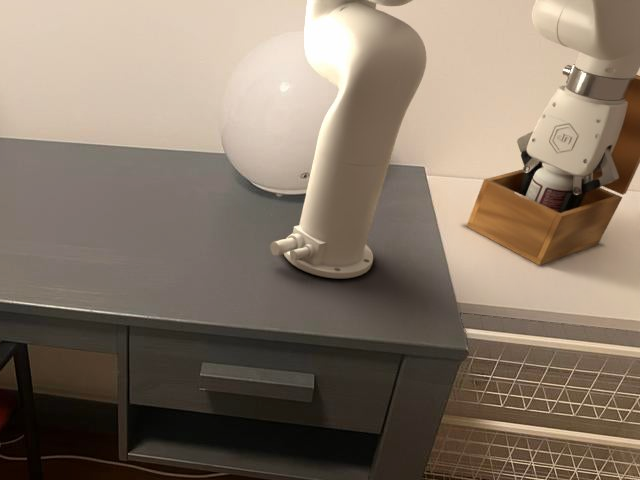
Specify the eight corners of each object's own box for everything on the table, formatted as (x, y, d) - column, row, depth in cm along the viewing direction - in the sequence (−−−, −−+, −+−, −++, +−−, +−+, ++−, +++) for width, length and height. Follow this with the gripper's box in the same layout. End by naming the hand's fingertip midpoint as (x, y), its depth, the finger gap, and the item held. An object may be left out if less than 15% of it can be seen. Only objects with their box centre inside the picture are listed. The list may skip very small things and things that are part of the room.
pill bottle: (564, 231, 113) (598, 160, 106) (541, 240, 110) (574, 168, 103) (528, 215, 117) (559, 145, 110) (505, 223, 114) (535, 152, 107)
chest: (539, 265, 107) (562, 216, 102) (466, 226, 116) (483, 179, 111) (598, 244, 113) (622, 197, 108) (524, 208, 122) (544, 163, 117)
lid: (670, 89, 98) (695, 79, 100) (580, 60, 106) (605, 52, 108) (622, 195, 108) (645, 184, 110) (543, 161, 117) (566, 152, 118)
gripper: (526, 69, 104) (480, 188, 116) (644, 109, 93) (581, 237, 104) (558, 63, 107) (511, 180, 119) (676, 101, 96) (611, 226, 107)
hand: (544, 205), depth 111 cm, fingers closed on pill bottle, 6 cm apart
